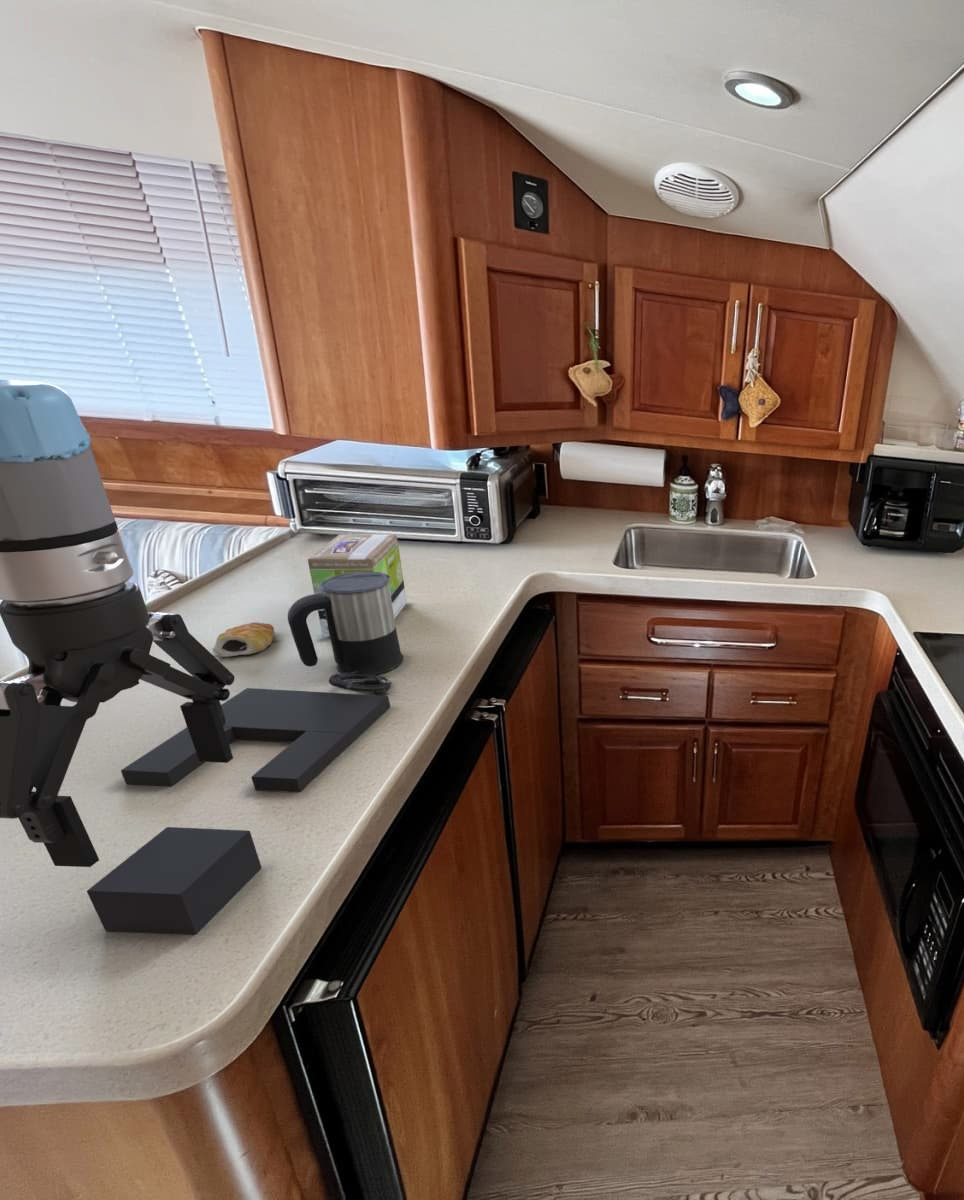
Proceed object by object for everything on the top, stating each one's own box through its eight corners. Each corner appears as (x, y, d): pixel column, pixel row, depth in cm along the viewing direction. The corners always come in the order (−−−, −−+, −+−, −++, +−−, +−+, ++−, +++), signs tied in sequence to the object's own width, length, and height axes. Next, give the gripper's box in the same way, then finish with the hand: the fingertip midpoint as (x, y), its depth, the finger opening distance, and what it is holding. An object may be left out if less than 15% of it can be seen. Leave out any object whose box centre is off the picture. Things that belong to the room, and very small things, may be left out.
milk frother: (382, 646, 110) (367, 566, 104) (443, 671, 104) (430, 588, 98) (291, 680, 98) (268, 592, 92) (354, 711, 92) (333, 618, 86)
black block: (104, 931, 58) (85, 891, 56) (181, 864, 65) (167, 826, 63) (196, 934, 58) (180, 894, 56) (262, 867, 66) (250, 830, 64)
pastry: (241, 633, 110) (236, 613, 109) (287, 632, 112) (282, 612, 111) (211, 658, 102) (205, 637, 100) (261, 657, 104) (256, 636, 102)
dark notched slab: (125, 784, 75) (120, 770, 74) (250, 699, 93) (246, 687, 92) (300, 792, 76) (296, 778, 75) (390, 707, 94) (388, 695, 93)
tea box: (386, 635, 114) (372, 557, 108) (321, 638, 111) (303, 558, 105) (409, 602, 127) (397, 532, 121) (351, 604, 124) (336, 532, 118)
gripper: (-81, 668, 38) (51, 924, 46) (244, 544, 61) (295, 729, 69) (-215, 662, 38) (-58, 921, 46) (163, 539, 61) (223, 726, 69)
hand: (154, 806), depth 58 cm, fingers open, 13 cm apart
